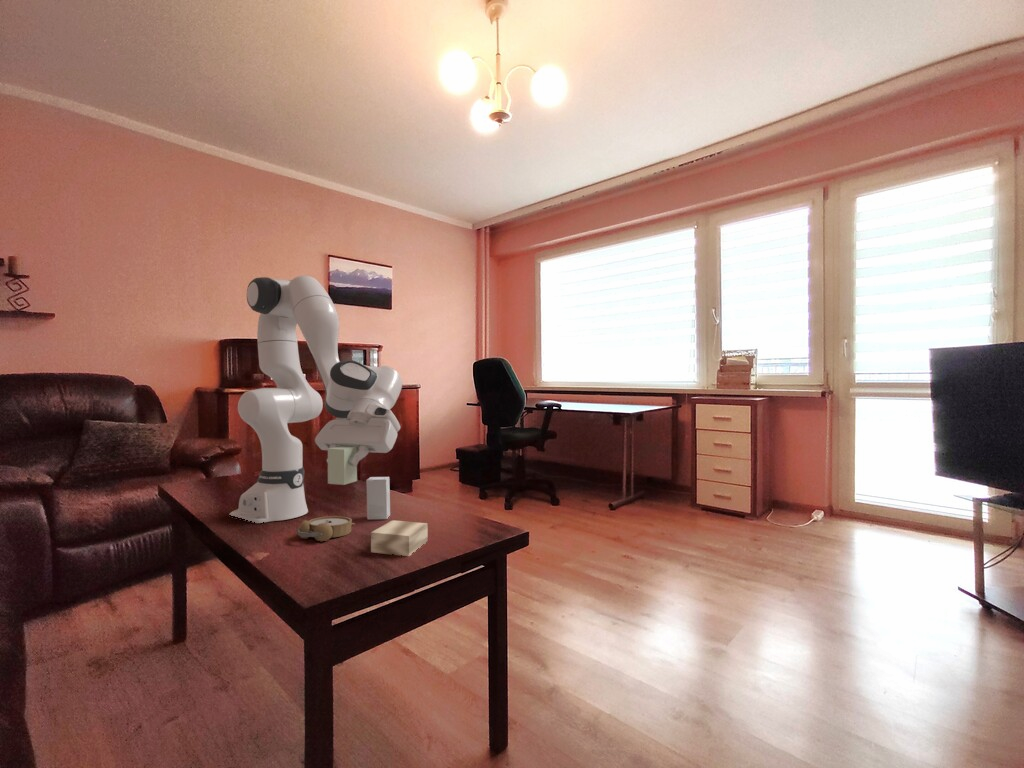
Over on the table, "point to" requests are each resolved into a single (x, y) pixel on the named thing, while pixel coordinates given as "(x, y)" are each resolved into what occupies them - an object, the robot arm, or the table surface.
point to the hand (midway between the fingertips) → (340, 463)
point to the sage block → (341, 465)
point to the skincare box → (378, 498)
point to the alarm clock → (325, 528)
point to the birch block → (399, 537)
